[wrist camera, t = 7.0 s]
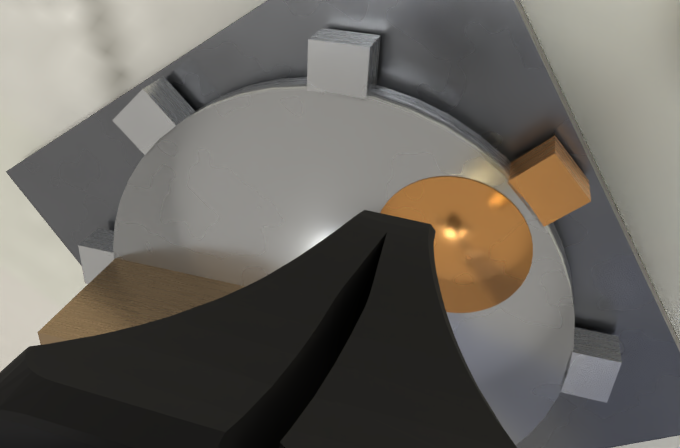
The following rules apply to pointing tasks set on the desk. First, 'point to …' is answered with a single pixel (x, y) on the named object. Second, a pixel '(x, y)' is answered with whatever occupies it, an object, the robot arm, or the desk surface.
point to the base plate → (463, 104)
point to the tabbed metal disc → (348, 218)
